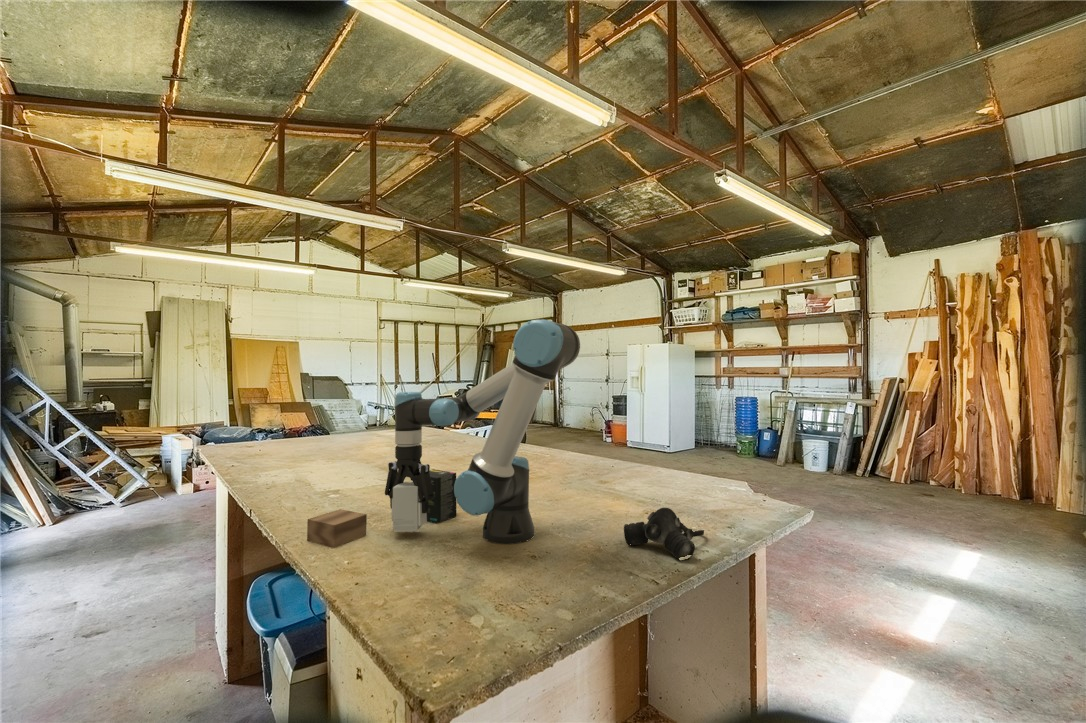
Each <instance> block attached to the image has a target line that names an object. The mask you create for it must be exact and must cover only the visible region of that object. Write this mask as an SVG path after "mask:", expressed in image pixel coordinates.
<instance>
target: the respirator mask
mask: <svg viewBox="0 0 1086 723" xmlns="http://www.w3.org/2000/svg"><path fill="white" fill-rule="evenodd" d="M646 519H647V520H648V521H647V522H646V523H645V522H644V521H639V522H636V523H634V522H632V523H631V522H630V523H629V524H628V523H624V525H623V536H624V540H625V542H626V545H630V544H632V545H631V546H637V545H645V544H648V543H649V541H652V542H655V543H656V544H661V545H664V548H665V549H666V550H667V551H668V552H669V553H671V554H672V556H674V557H675V556H676V557H677V558H680V557H685V556H687V555H692V556H693V555H694V553H695V551H696V545H695V543H694V542H693V541H692V540H693V538H696V537H700V536H704V535H705V534H704V533H705V530H704V529H699V530H698V531H695V532H693V531H692V530H693V529H692V528H688V527H687V526H686V525H685V524H684V523H682V522H681V520H680V517H678V516H677V515H676V513H675V512H674V511H673V510H672V508H669V507H661V508H658V509H657V510H656V511H652V512H650V514H649V515H648V516H647V518H646ZM682 530H683V531H684V532H683V531H682ZM676 557H675V558H676ZM677 558H676V559H677Z"/></svg>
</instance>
